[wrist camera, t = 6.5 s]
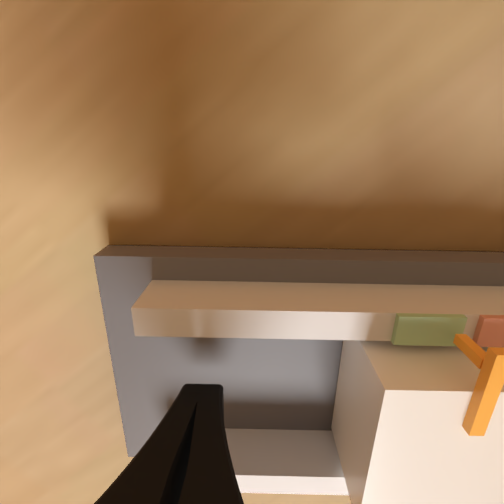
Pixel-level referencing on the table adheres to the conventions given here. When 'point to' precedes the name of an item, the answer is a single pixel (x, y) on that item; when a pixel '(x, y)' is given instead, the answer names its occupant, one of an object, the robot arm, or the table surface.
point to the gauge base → (278, 338)
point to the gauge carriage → (421, 422)
